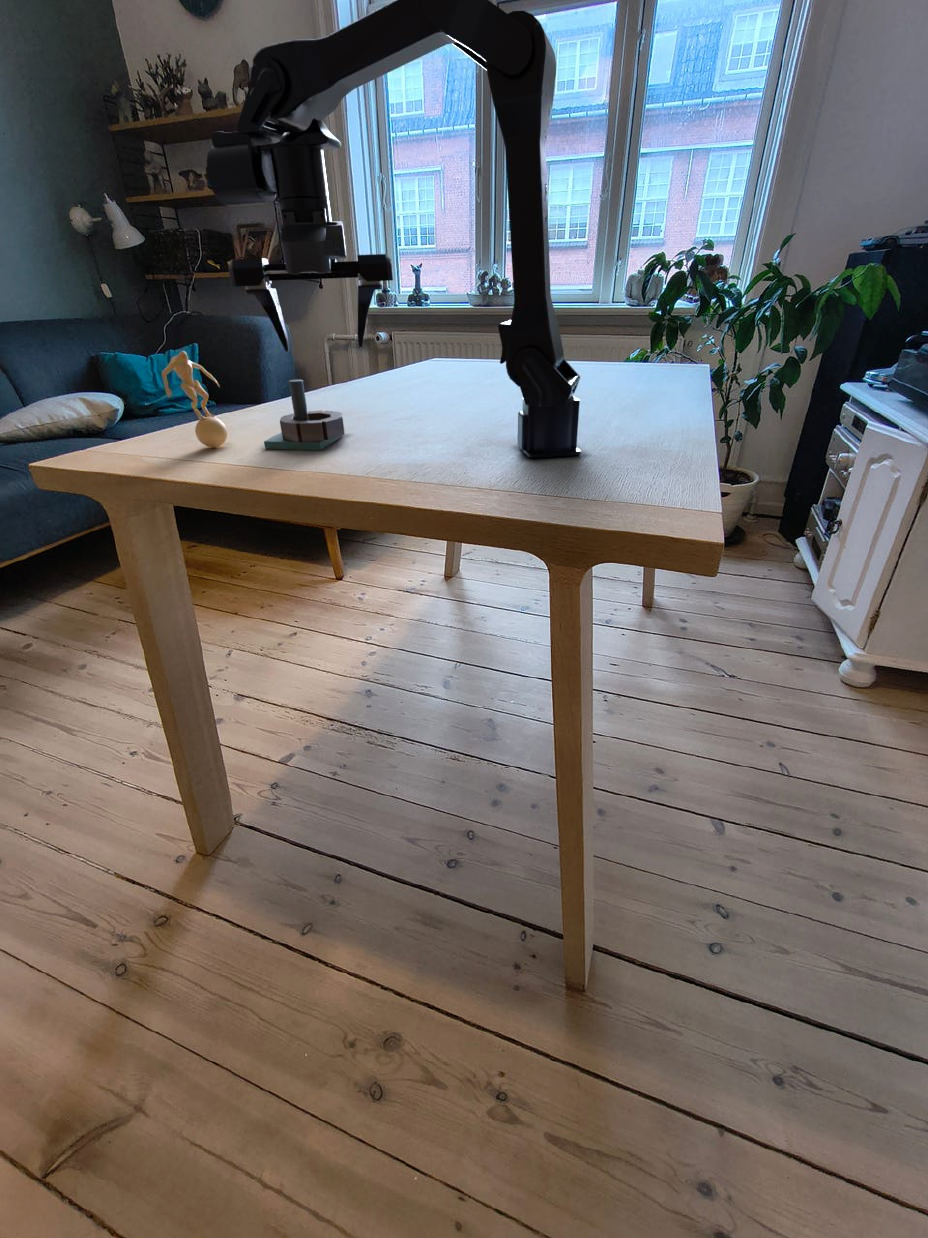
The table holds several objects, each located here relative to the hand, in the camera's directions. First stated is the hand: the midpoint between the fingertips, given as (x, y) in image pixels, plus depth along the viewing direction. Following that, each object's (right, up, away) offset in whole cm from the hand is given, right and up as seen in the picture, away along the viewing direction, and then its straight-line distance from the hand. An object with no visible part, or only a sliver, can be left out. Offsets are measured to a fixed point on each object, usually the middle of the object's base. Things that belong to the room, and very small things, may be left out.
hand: (324, 349), depth 76 cm
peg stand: (-4, -10, +6) cm, 12 cm away
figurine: (-17, -11, +6) cm, 21 cm away
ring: (-3, -9, +6) cm, 11 cm away
